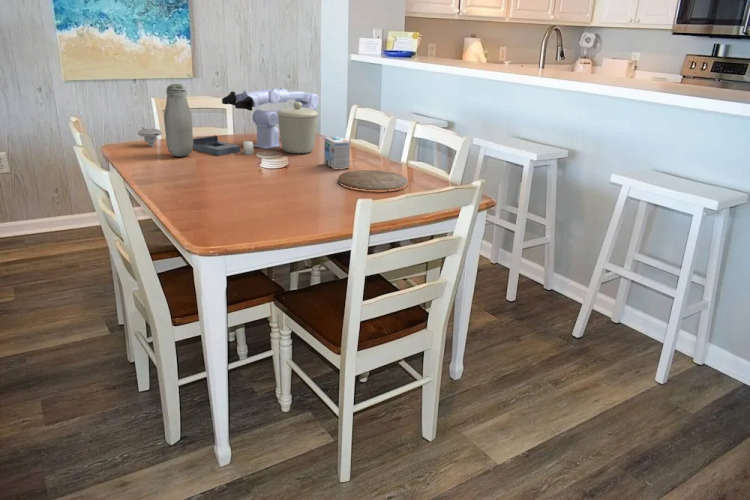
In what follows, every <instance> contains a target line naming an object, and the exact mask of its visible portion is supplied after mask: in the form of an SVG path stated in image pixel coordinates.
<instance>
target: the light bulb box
mask: <svg viewBox="0 0 750 500" xmlns="http://www.w3.org/2000/svg"><path fill="white" fill-rule="evenodd" d="M323 150H324V151H323V152H324V155H323V158H324V160H323V164H324V163H325V165H326V164H327V165H329V166H331V167H333V168H345V167H349V168H350V156H351V155H350V154H351V152H350V151H351V141H349V140H347V139H345V138H343V137H341V136H329V137H327V136H326V137H324V149H323ZM327 165H326V166H327ZM329 166H328V167H329Z"/></svg>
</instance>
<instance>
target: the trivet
mask: <svg viewBox="0 0 750 500" xmlns="http://www.w3.org/2000/svg"><path fill="white" fill-rule="evenodd" d="M337 178H338V180H337V182H338V181H339V182H340V183H341V184H343V185H345V186H348V187H352V188H358V189H365V190H389V189H396V188H400V187H403V186H405V185H406V184H407V183H408V184H409V181H408V178H407V177H406V176H404V175H402V174H399V173H396V172H391V171H385V170H376V169H375V170H374V169H373V170H372V169H359V170H350V171H346V172H343V173H341V174H339V175H338V177H337ZM339 182H338V183H339Z"/></svg>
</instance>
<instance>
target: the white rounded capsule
mask: <svg viewBox="0 0 750 500" xmlns="http://www.w3.org/2000/svg"><path fill="white" fill-rule="evenodd" d="M242 144H243V145H242V146H243V155H245V156H251V155H252V154H253V155H254V146H253V145H254V141H252V140H245V141H243V142H242Z"/></svg>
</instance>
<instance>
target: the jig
mask: <svg viewBox="0 0 750 500" xmlns="http://www.w3.org/2000/svg"><path fill="white" fill-rule="evenodd" d="M241 149H242V148H241V145H238V144H233V143H231V142H230V143H229V142H225V141H221V140H219V137H218V135H216V134H215V135H209V136H203V137H198V138H193V149H192V151H193V150H194V151H197V152H202V153H205V154H209V155H213V156H217V157H219V156H225V155H231V154H235V153H237V154H238V153H241Z"/></svg>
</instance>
